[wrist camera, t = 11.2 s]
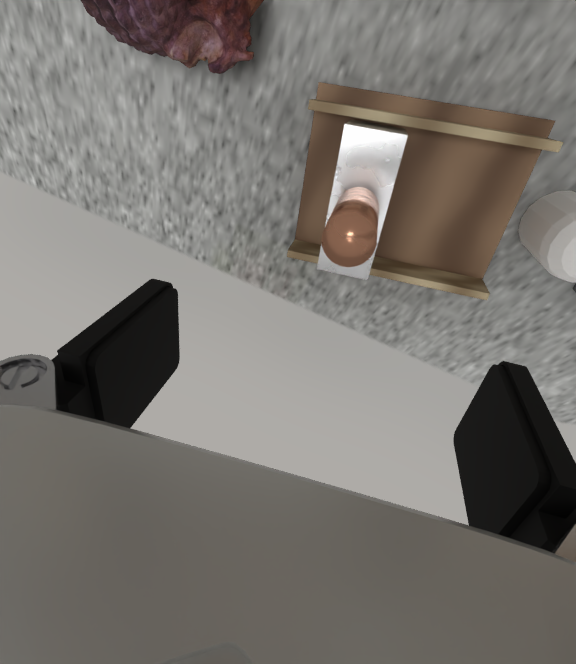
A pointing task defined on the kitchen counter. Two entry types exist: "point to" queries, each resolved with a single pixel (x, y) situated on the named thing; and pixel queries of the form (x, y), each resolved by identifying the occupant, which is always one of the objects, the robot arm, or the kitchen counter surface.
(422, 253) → the base
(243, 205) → the kitchen counter surface
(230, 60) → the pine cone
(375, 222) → the ram
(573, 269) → the capsule
